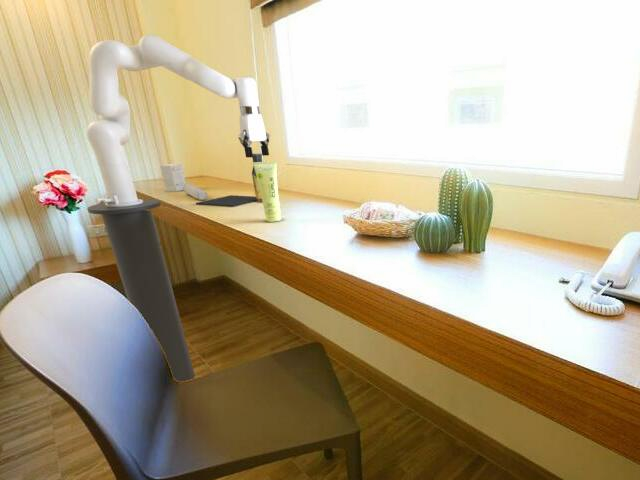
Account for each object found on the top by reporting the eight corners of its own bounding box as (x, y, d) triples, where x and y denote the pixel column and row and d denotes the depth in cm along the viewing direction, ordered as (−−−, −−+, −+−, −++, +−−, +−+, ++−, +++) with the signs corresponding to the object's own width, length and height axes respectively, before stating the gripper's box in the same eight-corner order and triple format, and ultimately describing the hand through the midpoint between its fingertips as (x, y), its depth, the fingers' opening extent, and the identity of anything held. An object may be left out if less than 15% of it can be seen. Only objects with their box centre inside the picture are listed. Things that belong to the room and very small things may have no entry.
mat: (232, 206, 160) (232, 205, 159) (195, 204, 166) (195, 202, 166) (265, 198, 177) (265, 197, 177) (231, 196, 184) (230, 195, 183)
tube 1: (209, 190, 175) (195, 184, 193) (196, 188, 171) (183, 182, 189) (207, 202, 176) (194, 195, 194) (194, 200, 172) (182, 193, 190)
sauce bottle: (258, 200, 173) (251, 153, 166) (273, 199, 174) (266, 152, 166) (254, 202, 167) (246, 154, 160) (269, 202, 168) (262, 153, 160)
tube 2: (268, 223, 131) (259, 162, 124) (261, 221, 134) (252, 161, 127) (284, 220, 135) (276, 161, 127) (277, 218, 138) (269, 160, 131)
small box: (177, 189, 210) (171, 163, 205) (187, 189, 208) (182, 163, 204) (165, 191, 202) (159, 165, 197) (176, 191, 201) (170, 165, 196)
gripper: (257, 112, 166) (264, 154, 172) (226, 111, 151) (235, 158, 157) (272, 111, 163) (278, 154, 170) (242, 111, 148) (250, 158, 155)
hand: (257, 156), depth 164 cm, fingers open, 9 cm apart
